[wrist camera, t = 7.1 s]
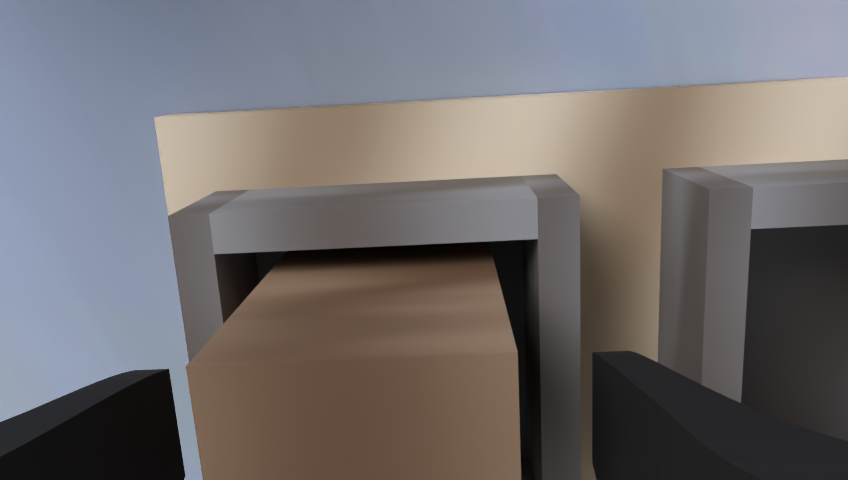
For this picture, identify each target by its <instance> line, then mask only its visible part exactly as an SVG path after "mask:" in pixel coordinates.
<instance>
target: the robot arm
mask: <svg viewBox="0 0 848 480" xmlns="http://www.w3.org/2000/svg"><path fill="white" fill-rule="evenodd" d="M592 464H593V468H594V472H595V476H596V480H848V441H846V440H843V439H839V438H836V437H832V436H829V435H826V434H822V433H819V432H817V431H814V430H811V429H808V428H805V427H802V426H799V425H796V424H793V423H790V422H787V421H784V420H781V419H779V418H776V417H773V416H771V415H768V414H766V413H763V412H761V411H758V410H756V409H754V408H751V407H749V406H747V405H744V404H742V403H740V402H737V401H735V400H733V399H730V398H728V397H726V396H724V395H722V394H720V393H717V392H715V391H713V390H711V389H709V388H707V387H705V386H703V385H701V384H699V383H697V382H695V381H693V380H691V379H689V378H687V377H685V376H683V375H681V374H679V373H677V372H675V371H673V370H671V369H669V368H667V367H665V366H664V365H662V364H660V363H658V362H656V361H654V360H651V359H649V358H647V357H645V356H643V355H641V354H638V353H636V352H632V351H609V352H592ZM184 478H185V471H184V465H183V458H182V452H181V445H180V439H179V432H178V426H177V419H176V413H175V406H174V400H173V393H172V387H171V380H170V374H169V369H158V370H134V371H130V372H125V373H121V374H118V375H115V376H112V377H109V378H106V379H104V380H101V381H99V382H96V383H94V384H91V385H89V386H86V387H84V388H81V389H79V390H76V391H74V392H72V393H69V394H67V395H65V396H62V397H60V398H58V399H55V400H53V401H51V402H48V403H46V404H44V405H41V406H39V407H37V408H34V409H32V410H30V411H27V412H25V413H22V414H20V415H17V416H15V417H12V418H10V419H7V420H5V421H2V422H0V480H184Z"/></svg>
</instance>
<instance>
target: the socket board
mask: <svg viewBox="0 0 848 480" xmlns="http://www.w3.org/2000/svg"><path fill="white" fill-rule="evenodd" d="M154 120H155V127H156V134H157V141H158V148H159V155H160V161H161V168H162V175H163V182H164V189H165V196H166V203H167V210H168V220H169V227H170V234H171V240H172V247H173V254H174V261H175V268H176V275H177V282H178V288H179V295H180V302H181V309H182V316H183V323H184V330H185V336H186V343H187V350H188V357H189V362H190V361H191V360H192V359H193V358H194V357H195V356H196V354H197V353H198V352H199V351H200V350H201V349H202V348H203V346H204V345H205V344H206V343H207V342H208V341H209V340H210V339H211V337H212V336H213V335H214V334H215V333H216V332H217V331H218V329H219V328H220V327H221V326H222V325H223V324H224V323H225V321H226V320H227V319H228V318H229V317H230V316H231V315H232V314H233V312H234V311H235V310H236V309H237V308H238V307H239V306H240V304H241V303H242V302H243V301H244V300H245V299H246V298H247V296H248V295H249V294H250V293H251V292H252V291H253V290H254V289H255V287H256V286H257V285H258V284H259V283H260V282H261V281H262V279H263V278H264V277H265V276H266V275H267V274H268V273H269V272H270V270H271V269H272V268H273V267H274V266H275V265H276V264H277V262H278V261H279V260H280V259H281V258H282V257H283V256H284V254H285V253H286V252H287V251H294V250H316V249H337V248H359V247H380V246H401V245H423V244H444V243H465V242H487V241H489V244H490V248H491V252H492V256H493V260H494V263H495V267H496V271H497V275H498V279H499V283H500V286H501V290H502V294H503V298H504V302H505V305H506V309H507V313H508V317H509V321H510V325H511V328H512V332H513V336H514V340H515V344H516V348H517V351H518V379H519V416H520V452H521V480H596V476H595V472H594V468H593V464H592V352H609V351H632V352H636V353H638V354H641V355H643V356H645V357H647V358H649V359H651V360H654V361H656V362H658V363H660V364H662V365H664V366H665V367H667V368H669V369H671V370H673V371H675V372H677V373H679V374H681V375H683V376H685V377H687V378H689V379H691V380H693V381H695V382H697V383H699V384H701V385H703V386H705V387H707V388H709V389H711V390H713V391H715V392H717V393H720V394H722V395H724V396H726V397H728V398H730V399H733V400H735V401H737V402H740V403H742V404H744V405H747V406H749V407H751V408H754V409H756V410H758V411H761V412H763V413H766V414H768V415H771V416H773V417H776V418H779V419H781V420H784V421H787V422H790V423H793V424H796V425H799V426H802V427H805V428H808V429H811V430H814V431H817V432H819V433H822V434H826V435H829V436H832V437H836V438H839V439H843V440H846V441H848V77H834V78H816V79H798V80H780V81H762V82H744V83H726V84H708V85H690V86H672V87H654V88H636V89H618V90H600V91H582V92H564V93H546V94H528V95H510V96H492V97H474V98H456V99H438V100H420V101H402V102H384V103H366V104H348V105H330V106H312V107H294V108H276V109H258V110H240V111H222V112H204V113H186V114H171V115H165V116H158V117H154Z"/></svg>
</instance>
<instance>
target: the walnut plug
mask: <svg viewBox="0 0 848 480" xmlns="http://www.w3.org/2000/svg"><path fill="white" fill-rule="evenodd" d="M186 369H187V376H188V383H189V389H190V396H191V403H192V410H193V416H194V423H195V430H196V436H197V443H198V450H199V456H200V463H201V470H202V477H203V480H521V452H520V416H519V379H518V351H517V348H516V344H515V340H514V336H513V332H512V328H511V325H510V321H509V317H508V313H507V309H506V305H505V302H504V298H503V294H502V290H501V286H500V283H499V279H498V275H497V271H496V267H495V263H494V260H493V256H492V252H491V248H490V244H489V241H487V242H465V243H444V244H423V245H401V246H380V247H359V248H337V249H316V250H294V251H287V252H286V253H285V254H284V256H283V257H282V258H281V259H280V260H279V261H278V262H277V264H276V265H275V266H274V267H273V268H272V269H271V270H270V272H269V273H268V274H267V275H266V276H265V277H264V278H263V279H262V281H261V282H260V283H259V284H258V285H257V286H256V287H255V289H254V290H253V291H252V292H251V293H250V294H249V295H248V296H247V298H246V299H245V300H244V301H243V302H242V303H241V304H240V306H239V307H238V308H237V309H236V310H235V311H234V312H233V314H232V315H231V316H230V317H229V318H228V319H227V320H226V321H225V323H224V324H223V325H222V326H221V327H220V328H219V329H218V331H217V332H216V333H215V334H214V335H213V336H212V337H211V339H210V340H209V341H208V342H207V343H206V344H205V345H204V346H203V348H202V349H201V350H200V351H199V352H198V353H197V354H196V356H195V357H194V358H193V359H192V360H191V361H190V362H189V364H188V365H187V366H186Z"/></svg>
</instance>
